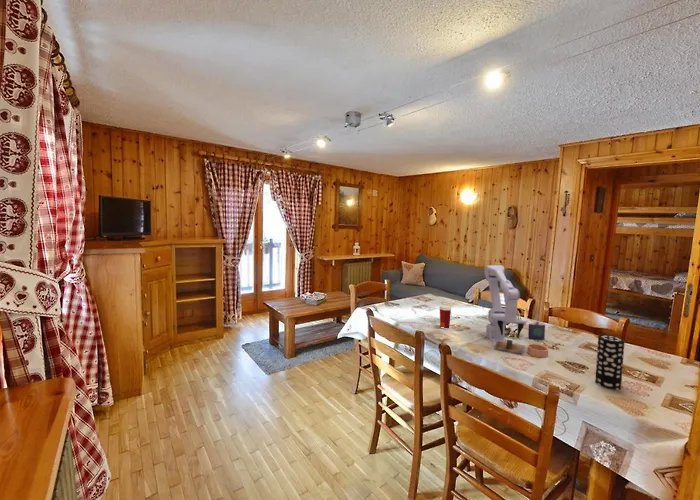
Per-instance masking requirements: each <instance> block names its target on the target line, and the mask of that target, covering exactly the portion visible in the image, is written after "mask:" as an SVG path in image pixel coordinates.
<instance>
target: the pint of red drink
mask: <svg viewBox="0 0 700 500" xmlns="http://www.w3.org/2000/svg"><path fill="white" fill-rule="evenodd" d="M438 309H439V325H440V326H441V327H444V328H449V329H450V324H451V323H450V322H451V316H452V314H451V311H452V308H451V306H450V305H443V304H442V305H439V308H438ZM441 327H440V328H441Z"/></svg>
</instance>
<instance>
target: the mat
mask: <svg viewBox="0 0 700 500" xmlns="http://www.w3.org/2000/svg"><path fill="white" fill-rule="evenodd" d="M497 344H498V341H495V345H494V348H493V351H497V352H502V353H506V354H511V355H516V356H521V357H524V356H525V346H523V347H522V354H521V355H520V354H515V353H510V352H505V351H500V350H496V346H497Z"/></svg>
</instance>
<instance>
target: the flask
mask: <svg viewBox="0 0 700 500" xmlns="http://www.w3.org/2000/svg"><path fill="white" fill-rule="evenodd" d="M545 337H546V324H544V323H540V321H539V320H538V321H536V322H534V323H533V322H531V323H528V337H527V338H529V339H528V340H531V339H533V340H534V341H536V340H537V341H540V340H545ZM533 340H532V341H533Z"/></svg>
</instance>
